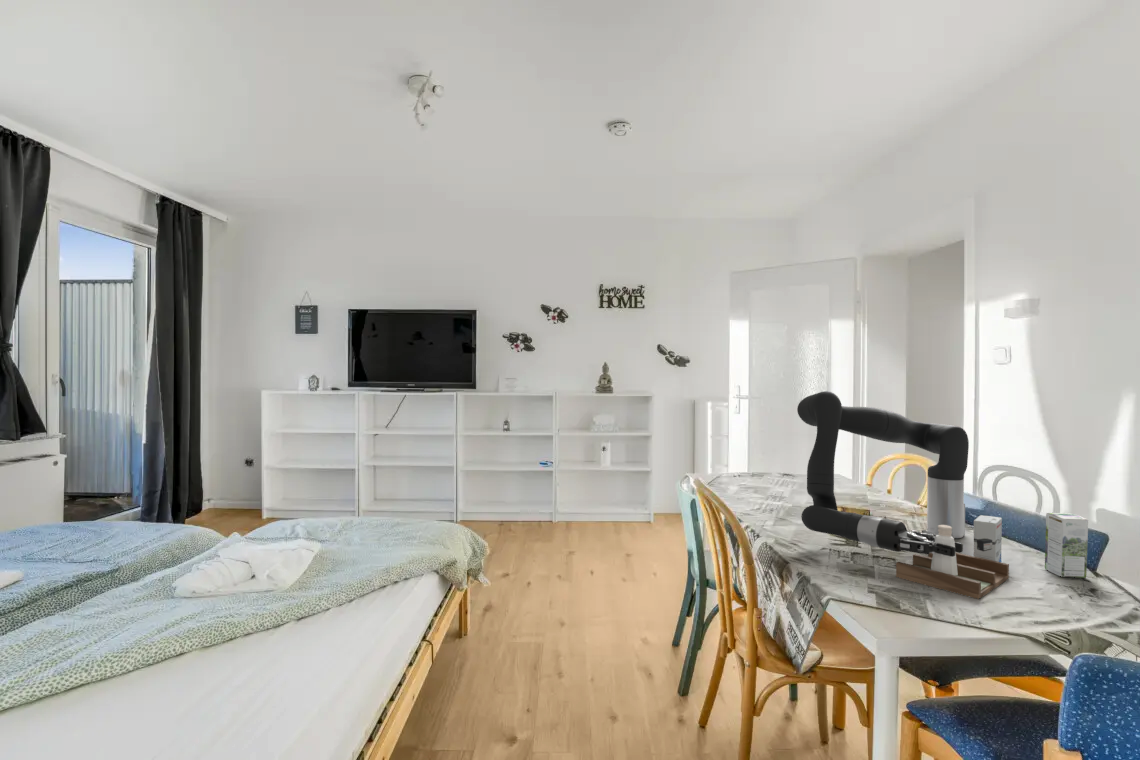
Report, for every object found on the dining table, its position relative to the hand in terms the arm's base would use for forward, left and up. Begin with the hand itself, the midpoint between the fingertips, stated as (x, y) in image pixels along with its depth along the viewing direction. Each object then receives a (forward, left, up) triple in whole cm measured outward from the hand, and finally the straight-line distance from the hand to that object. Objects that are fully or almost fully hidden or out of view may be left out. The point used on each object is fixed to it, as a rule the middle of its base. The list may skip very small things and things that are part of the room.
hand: (958, 550), depth 133 cm
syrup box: (-32, +5, -8) cm, 33 cm away
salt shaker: (+1, -3, -6) cm, 7 cm away
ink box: (-22, -7, -9) cm, 24 cm away
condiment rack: (-4, -4, -8) cm, 10 cm away
